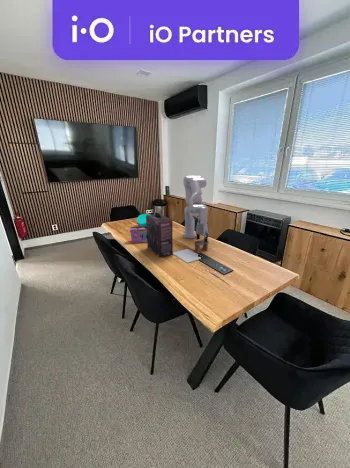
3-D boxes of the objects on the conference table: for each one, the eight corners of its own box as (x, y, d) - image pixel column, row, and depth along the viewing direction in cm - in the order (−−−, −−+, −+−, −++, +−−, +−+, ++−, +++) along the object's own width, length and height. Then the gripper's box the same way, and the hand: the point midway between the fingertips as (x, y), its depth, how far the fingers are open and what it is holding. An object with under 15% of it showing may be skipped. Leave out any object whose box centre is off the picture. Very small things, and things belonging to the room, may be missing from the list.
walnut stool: (194, 250, 175) (194, 241, 172) (203, 247, 180) (204, 239, 178) (198, 252, 170) (198, 243, 168) (208, 249, 176) (208, 241, 173)
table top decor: (133, 226, 242) (132, 215, 237) (154, 223, 255) (154, 212, 251) (146, 235, 209) (145, 223, 205) (169, 231, 223) (169, 220, 218)
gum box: (130, 243, 189) (129, 229, 184) (130, 240, 196) (129, 227, 192) (155, 241, 195) (155, 227, 190) (154, 238, 202) (154, 225, 198)
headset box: (146, 247, 180) (145, 210, 169) (159, 244, 186) (158, 209, 175) (159, 258, 160) (159, 217, 149) (173, 254, 166) (173, 215, 156)
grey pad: (172, 253, 168) (172, 252, 168) (187, 249, 176) (187, 248, 176) (187, 263, 151) (187, 262, 151) (203, 258, 160) (203, 257, 160)
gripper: (192, 219, 172) (191, 238, 177) (206, 224, 158) (205, 244, 163) (199, 218, 176) (198, 237, 181) (213, 222, 162) (212, 243, 167)
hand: (201, 240), depth 172 cm, fingers open, 9 cm apart
